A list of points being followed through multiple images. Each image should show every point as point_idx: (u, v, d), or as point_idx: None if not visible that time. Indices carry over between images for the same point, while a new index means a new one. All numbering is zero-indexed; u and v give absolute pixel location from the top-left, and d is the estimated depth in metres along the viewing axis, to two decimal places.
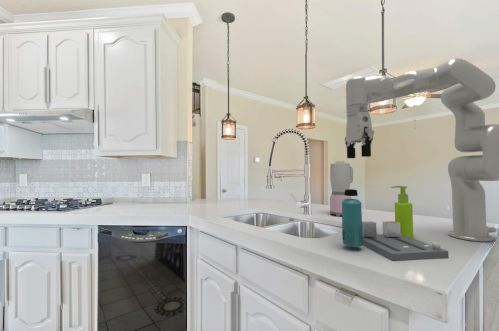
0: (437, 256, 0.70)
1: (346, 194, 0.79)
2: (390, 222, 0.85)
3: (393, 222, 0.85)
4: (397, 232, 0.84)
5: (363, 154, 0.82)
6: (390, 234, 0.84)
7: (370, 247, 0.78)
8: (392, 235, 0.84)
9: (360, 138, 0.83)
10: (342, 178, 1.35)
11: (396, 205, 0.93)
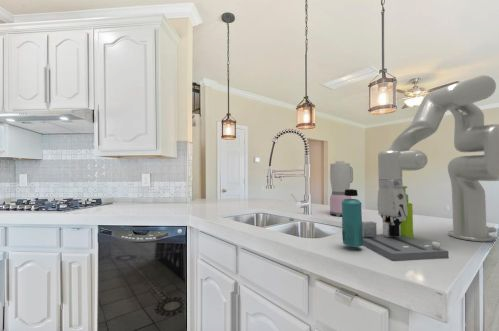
0: (437, 256, 0.70)
1: (346, 194, 0.79)
2: (390, 222, 0.85)
3: None
4: None
5: (392, 234, 0.83)
6: None
7: (370, 247, 0.78)
8: None
9: (395, 216, 0.81)
10: (342, 178, 1.35)
11: None
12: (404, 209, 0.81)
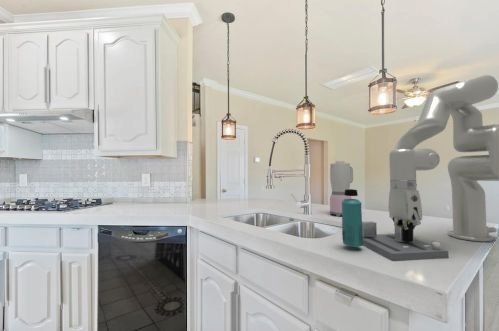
0: (437, 256, 0.70)
1: (346, 194, 0.79)
2: (403, 226, 0.79)
3: None
4: None
5: (405, 239, 0.77)
6: None
7: (370, 247, 0.78)
8: None
9: (409, 219, 0.75)
10: (342, 178, 1.35)
11: None
12: (419, 212, 0.75)
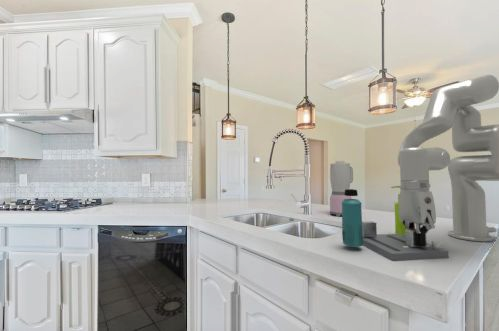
0: (437, 256, 0.70)
1: (346, 194, 0.79)
2: (414, 229, 0.74)
3: None
4: None
5: (417, 244, 0.72)
6: None
7: (370, 247, 0.78)
8: None
9: (422, 223, 0.70)
10: (342, 178, 1.35)
11: (396, 205, 0.93)
12: (433, 214, 0.70)
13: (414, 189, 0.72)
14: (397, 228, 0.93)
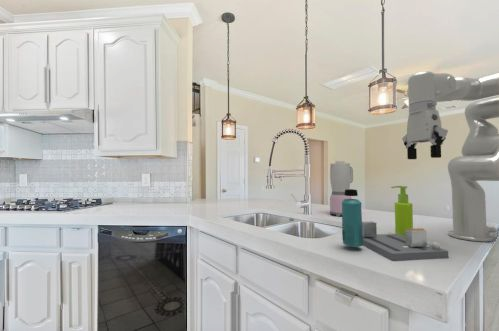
0: (437, 256, 0.70)
1: (346, 194, 0.79)
2: (415, 229, 0.74)
3: (418, 229, 0.74)
4: (423, 241, 0.73)
5: (433, 155, 0.76)
6: (415, 244, 0.73)
7: (370, 247, 0.78)
8: (417, 244, 0.73)
9: (429, 138, 0.77)
10: (342, 178, 1.35)
11: (396, 205, 0.93)
12: None
13: (422, 109, 0.78)
14: (397, 228, 0.93)
